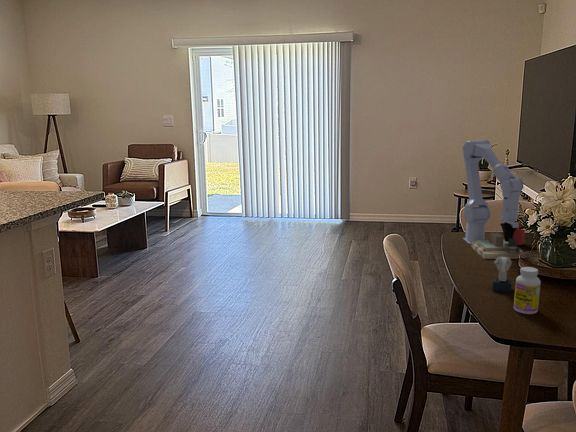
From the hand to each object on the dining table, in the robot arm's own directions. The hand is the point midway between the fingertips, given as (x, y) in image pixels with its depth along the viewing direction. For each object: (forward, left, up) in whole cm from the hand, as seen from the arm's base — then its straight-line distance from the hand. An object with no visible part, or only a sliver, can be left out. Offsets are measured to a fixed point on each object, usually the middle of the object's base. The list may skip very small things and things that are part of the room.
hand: (507, 241), depth 218 cm
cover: (-3, -4, -3) cm, 6 cm away
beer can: (-14, +8, -5) cm, 17 cm away
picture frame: (-1, -4, -5) cm, 6 cm away
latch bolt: (+3, 0, -2) cm, 3 cm away
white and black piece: (+43, -17, -5) cm, 46 cm away
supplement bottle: (+61, -16, -5) cm, 63 cm away
